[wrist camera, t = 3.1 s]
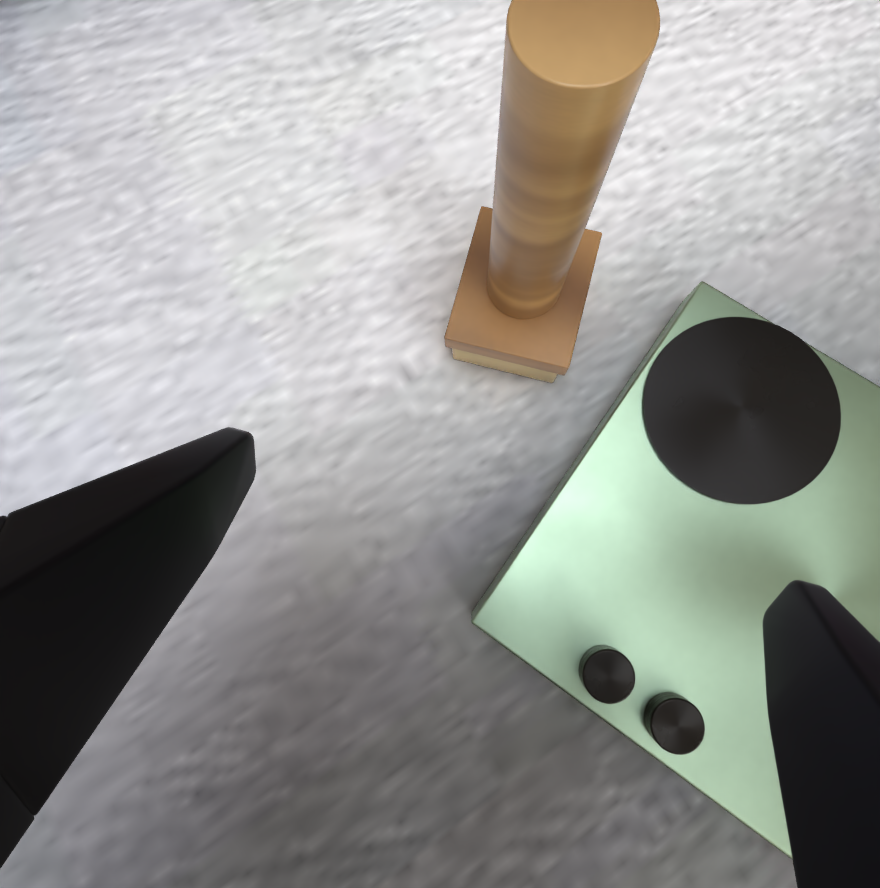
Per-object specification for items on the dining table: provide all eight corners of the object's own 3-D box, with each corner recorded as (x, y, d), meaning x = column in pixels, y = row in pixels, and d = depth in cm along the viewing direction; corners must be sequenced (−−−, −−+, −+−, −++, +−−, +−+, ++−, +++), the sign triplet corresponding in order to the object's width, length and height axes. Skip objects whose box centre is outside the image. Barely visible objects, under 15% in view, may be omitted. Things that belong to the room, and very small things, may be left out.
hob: (936, 956, 19) (1013, 1027, 17) (470, 614, 22) (470, 626, 19) (1140, 578, 21) (1242, 584, 18) (682, 300, 24) (711, 270, 21)
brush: (556, 389, 23) (683, 183, 9) (447, 362, 24) (416, 126, 10) (586, 268, 24) (743, -84, 10) (479, 244, 24) (494, -126, 11)
